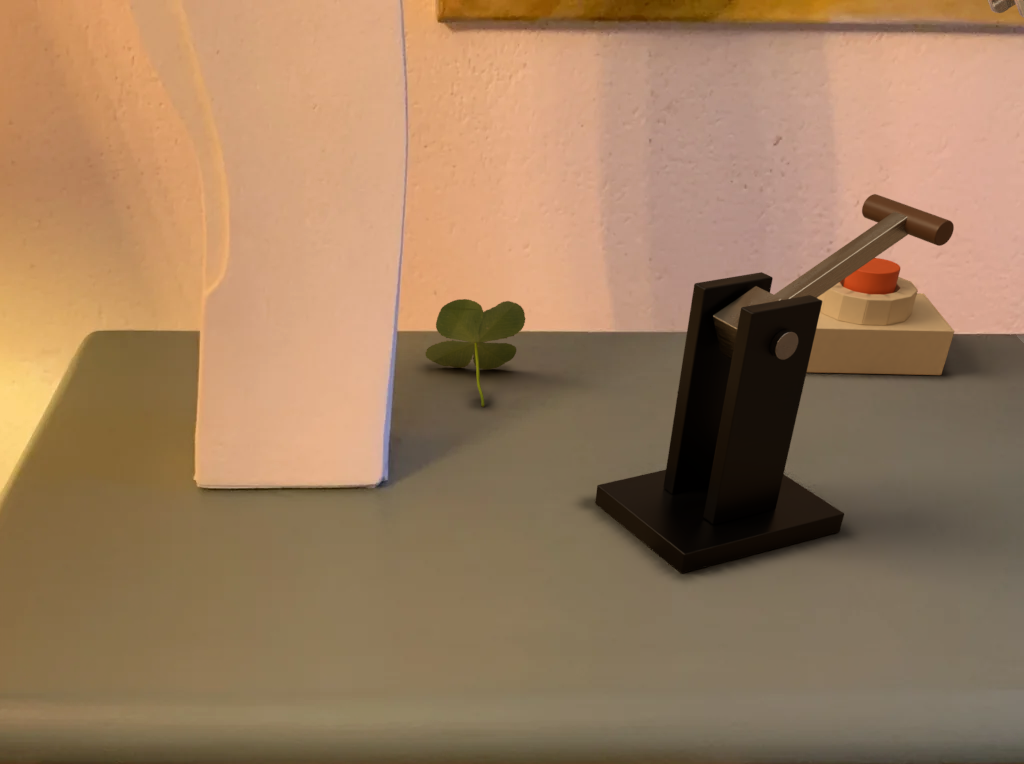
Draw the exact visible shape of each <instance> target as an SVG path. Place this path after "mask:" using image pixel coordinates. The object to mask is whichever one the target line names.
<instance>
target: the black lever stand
mask: <svg viewBox="0 0 1024 764" xmlns="http://www.w3.org/2000/svg"><path fill="white" fill-rule="evenodd" d="M772 285H773V276H771V275H769V274H767V273H765V272H763V271H761V272H753V273H749V274H742V275H735V276H730V277H725V278H717V279H713V280H706V281H701V282H694V285H693V290H692V297H691V303H690V310H689V317H688V323H687V324H688V325H687V329H686V336H685V344H684V349H683V355H682V362H681V369H680V375H679V381H678V387H677V395H676V400H675V401H676V402H675V408H674V416H673V421H672V428H671V436H670V440H669V441H670V442H669V447H668V454H667V459H666V460H667V461H666V467H665V469H663V470H657V471H653V472H649V473H645V474H640V475H636V476H632V477H627V478H623V479H620V480H614V481H609V482H605V483H601V484H597V485H596V493H595V505H597V506H598V507H600V508H601V509H602V510H603V511H604V512H605V513H607V515H609V516H610V517H612V518H613V519H614V520H615V521H617V522H618V524H620V525H621V526H623V527H624V528H625V529H626V530H628V531H629V532H630V533H631V534H632V535H634V536H635V537H636V538H637V539H639V540H640V541H641V542H642V543H644V544H645V545H646V546H647V547H648V548H649V549H651V550H652V551H653V552H654V553H656V554H657V555H658V556H660V558H662V559H663V560H664V561H665V562H667V563H668V564H669V565H670V566H672V567H673V568H674V569H676V570H677V571H678V572H679V573H680V574H684V573H688V572H693V571H695V570H700V569H704V568H706V567H710V566H711V567H712V566H714V565H719V564H723V563H726V562H730V561H734V560H739V559H742V558H745V557H749V556H752V555H756V554H760V553H764V552H769V551H772V550H775V549H780V548H783V547H787V546H791V545H794V544H799V543H802V542H807V541H810V540H813V539H814V540H815V539H818V538H821V537H826V536H829V535H832V534H836V533H840V532H841V528H842V524H843V519H844V516H845V512H843V511H841V510H840V509H838V508H836V507H835V506H834V505H832V504H830V503H829V502H827V501H826V500H824V499H822V498H821V497H819V496H818V495H817V494H815V493H813V492H812V491H810V490H808V489H807V488H806V487H804V486H803V485H801V484H799V482H797V481H795V480H793V479H792V478H790V477H788V476H787V475H786V474H785V469H786V465H787V460H788V457H789V452H790V448H791V443H792V439H793V434H794V429H795V425H796V422H797V416H798V412H799V408H800V403H801V399H802V394H803V391H804V385H805V381H806V377H807V373H808V372H807V368H808V364H809V359H810V355H811V350H812V346H813V341H814V337H815V333H816V328H817V324H818V319H819V315H820V310H821V306H822V300H820V299H818V298H816V297H814V296H811V295H808V296H802V297H797V298H791V299H785V300H780V301H774V302H768V303H763V304H757V305H751V306H746V307H742V308H741V311H740V316H739V322H738V327H737V333H736V338H735V344H734V349H733V355H732V360H731V359H729V358H727V357H726V356H724V355H722V354H721V351H720V346H719V342H718V337H717V333H716V329H715V324H714V320H713V315H715V314H716V313H718V312H719V311H720V310H722V309H723V308H725V307H726V306H728V305H729V304H731V303H732V302H733V301H735V300H736V299H738V298H739V297H741V296H742V295H744V294H745V293H746V292H748V291H749V290H751V289H752V288H754V287H755V286H757V287H759V288H761V289H763V290H765V291H767V292H769V293H771V289H772Z"/></svg>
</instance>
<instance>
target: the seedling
mask: <svg viewBox="0 0 1024 764" xmlns="http://www.w3.org/2000/svg"><path fill="white" fill-rule="evenodd" d="M525 315H526V313H525V309H524V308H523V307H522V306H521V304H518V303H517V302H514V301H510V300H505V301H502V302H500V303H498V304H496V305H495V306H493V307H491V308H489V309H486V310H483V307H482V305H481V304H480V303H478V302H477V301H475V300H472V299H469V298H468V299H466V298H464V299H463V298H462V299H458V298H457V299H456V300H452V301H450V302H448V303H446V304H444V305H443V306H442V307H441V308H440V311H439V312H438V315H437V318H436V322H435V329H436V331H437V333H438V334H439V335H440V336H442V337H445V339H450V340H444V341H440V342H438V343H435V344H432V345H430V346H428V347H427V348H426V351H425V357H426V358H427V360H429V361H431V362H433V363H435V364H437V365H439V366H442V367H453V368H457V369H462V368H465V367H468V366H469V365H470V363H471V361H472V360H473V364H474V366H475V369H476V371H475V372H476V373H475V374H476V375H475V376H476V386H477V390H478V393H479V397H480V403H481V407H482V408H484V407H485V406H486V405H485V397H484V394H483V390H482V386H481V377H480V370H481V369H482V370H492V369H498V368H500V367H501V366H503V365H505V364H506V363H508V362H509V361H511V360H513V359H514V358H515V356H516V353H517V347H516V346H515V345H513V344H512V343H507V342H491V341H499V340H504V339H508V338H511V337H514V336H515V335H517V334H519V332H521V331H522V330H523V328H524V326H525V323H526V316H525Z"/></svg>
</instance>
